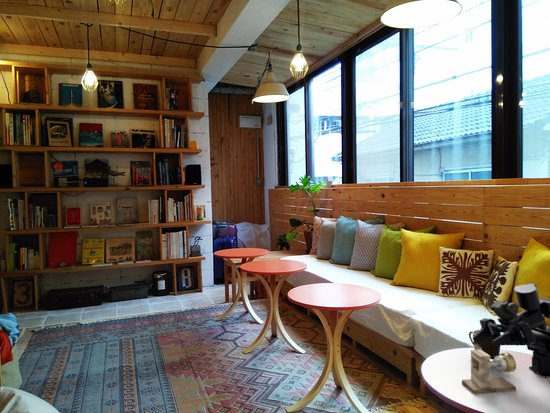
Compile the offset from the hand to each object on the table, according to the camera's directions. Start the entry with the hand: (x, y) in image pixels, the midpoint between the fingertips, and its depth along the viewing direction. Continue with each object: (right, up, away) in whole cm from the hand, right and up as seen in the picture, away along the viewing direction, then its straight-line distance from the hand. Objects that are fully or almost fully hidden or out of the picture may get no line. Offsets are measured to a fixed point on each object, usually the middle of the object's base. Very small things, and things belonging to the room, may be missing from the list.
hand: (482, 341), depth 115 cm
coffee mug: (+9, -12, +15) cm, 22 cm away
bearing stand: (+1, -13, -2) cm, 13 cm away
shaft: (+3, -8, -1) cm, 9 cm away
